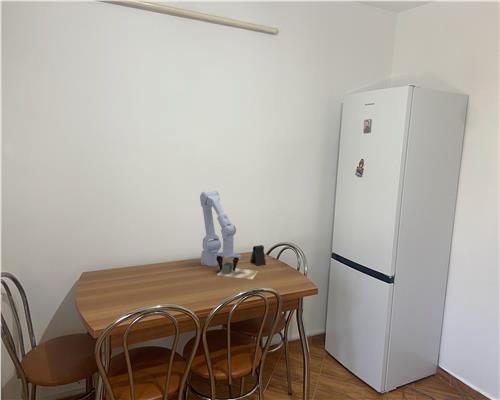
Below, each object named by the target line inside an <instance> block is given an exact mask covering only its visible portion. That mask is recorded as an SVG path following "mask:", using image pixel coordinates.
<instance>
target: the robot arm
mask: <svg viewBox="0 0 500 400" xmlns="http://www.w3.org/2000/svg"><path fill="white" fill-rule="evenodd" d="M199 199H200V206H201V207H202V208H201V209H202V214H203V221H204V227H205V228H204V229H205V234H206V235H205V236H204V237H203V238H202V249H203V250H202V251H201V254H200V265H202V266H209V267H215V266H217V265H218V266H219V270H220V271H221V270H222V265H223V262H224V258H227V259H232V262H233V271H235V269H236V268H237V265H238V263H239V260H241V259H242V255H241V254H237V253H234V236H235V235H236V233H237V229H236V226H235V224H233V223H232V222H231V221H230V219H229V216H228V215H227V214H226V213H224V209H223V208H222V205H221V203H220V200H221V197H220V194H219V192H218V191H217V190H214V191H202V192H201V194H200V196H199ZM212 209H213V210H214V211H215V213H216V215H217V221H218V223H219V226H220V227H221V230H220V232H221V235H222V236H221V239H222V242H221V240H220V237H219V235H218V234H216V232H215V231H216V230H215V224H214V217H213V211H212ZM221 247H222V252H219V251H220V249H221Z"/></svg>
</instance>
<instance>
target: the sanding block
mask: <svg viewBox="0 0 500 400" xmlns="http://www.w3.org/2000/svg"><path fill="white" fill-rule="evenodd" d="M232 270H233V261H225V262H224V263H222V274H230V273H231V272H232Z"/></svg>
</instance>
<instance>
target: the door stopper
mask: <svg viewBox="0 0 500 400" xmlns="http://www.w3.org/2000/svg"><path fill="white" fill-rule="evenodd" d="M264 251H265V247H264V245H262V244H261V245H254V246H253V247H252V253H251V256H250V260H249V263H250V264H255V266H257V267H263V266H266V265H267V261H266V256H265V252H264Z"/></svg>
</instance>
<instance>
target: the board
mask: <svg viewBox="0 0 500 400" xmlns="http://www.w3.org/2000/svg"><path fill="white" fill-rule="evenodd" d="M258 272H259V270H255V269H254V270H252V269H245V268H244V269H243V268H237V267H236V269H235V271H233V270H232V272H231V273H230V274H222V270H220V271H219V272H218V273H217V274H216V275H217V276H221V277H230V278H238V279H245V280H253V279H254V278H255V276H256V275H257V273H258Z"/></svg>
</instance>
